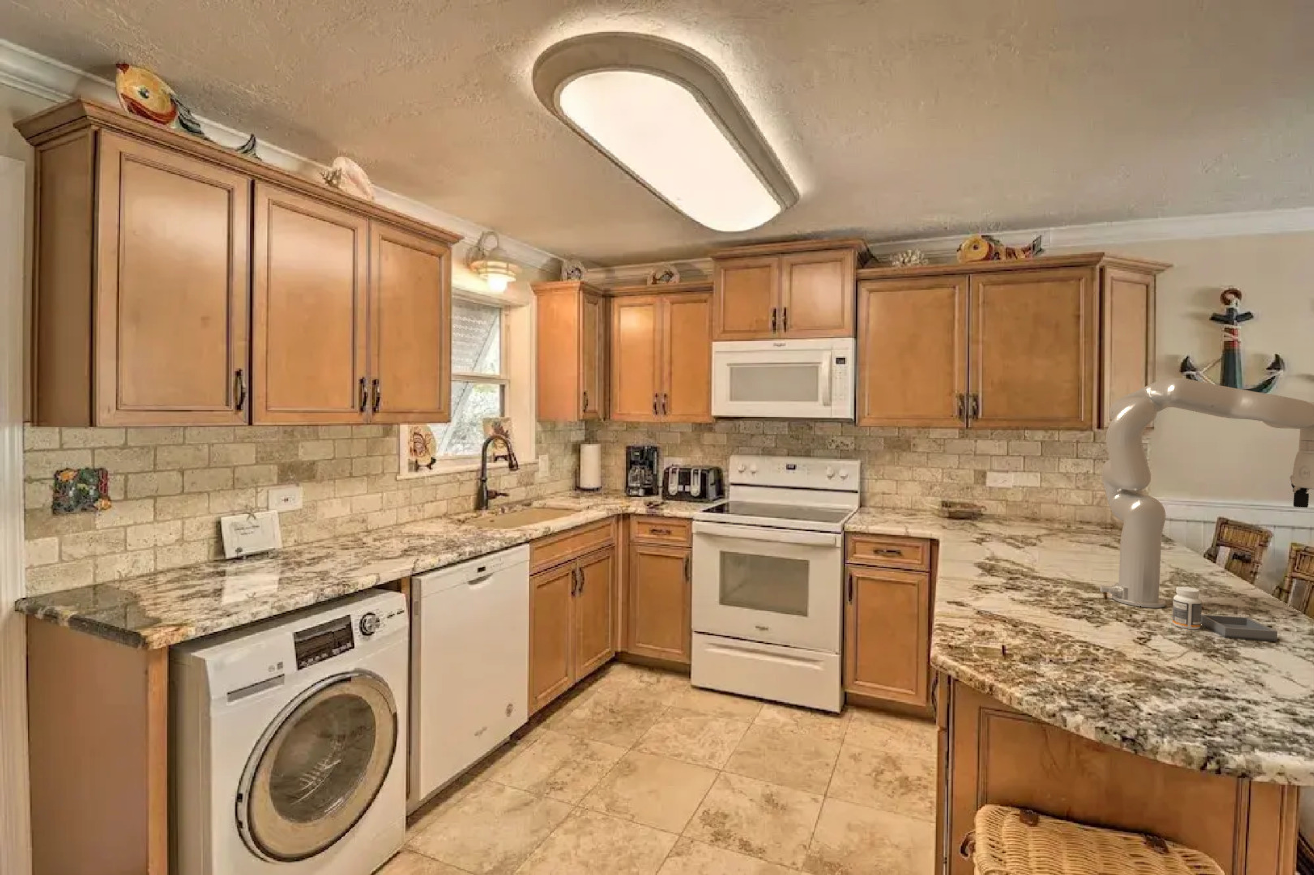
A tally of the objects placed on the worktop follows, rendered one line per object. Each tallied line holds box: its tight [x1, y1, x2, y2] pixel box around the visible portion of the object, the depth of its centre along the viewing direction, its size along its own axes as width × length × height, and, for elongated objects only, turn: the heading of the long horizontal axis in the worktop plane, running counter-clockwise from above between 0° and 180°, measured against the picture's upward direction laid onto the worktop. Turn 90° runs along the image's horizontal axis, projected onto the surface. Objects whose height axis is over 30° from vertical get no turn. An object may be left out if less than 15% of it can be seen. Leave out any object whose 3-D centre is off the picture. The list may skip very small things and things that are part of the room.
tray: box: [1201, 613, 1278, 642], centre depth 163 cm, size 11×11×2 cm
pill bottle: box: [1172, 586, 1203, 630], centre depth 167 cm, size 6×6×10 cm
